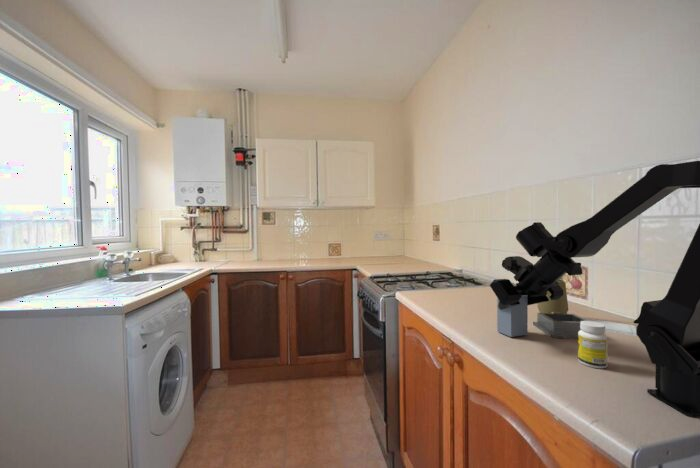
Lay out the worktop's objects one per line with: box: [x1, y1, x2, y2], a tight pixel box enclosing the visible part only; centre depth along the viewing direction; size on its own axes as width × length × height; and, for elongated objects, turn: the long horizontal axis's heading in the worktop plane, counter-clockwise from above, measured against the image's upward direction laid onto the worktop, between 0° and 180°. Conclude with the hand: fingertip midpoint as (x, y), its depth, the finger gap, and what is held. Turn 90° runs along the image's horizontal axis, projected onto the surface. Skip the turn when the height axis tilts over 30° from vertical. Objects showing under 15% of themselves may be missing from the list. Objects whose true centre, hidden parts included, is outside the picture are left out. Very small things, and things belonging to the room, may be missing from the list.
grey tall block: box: [496, 281, 529, 338], centre depth 78 cm, size 4×6×13 cm
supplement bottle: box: [577, 321, 609, 369], centre depth 61 cm, size 5×5×8 cm
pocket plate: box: [532, 312, 588, 340], centre depth 80 cm, size 10×11×4 cm
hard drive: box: [580, 316, 638, 337], centre depth 83 cm, size 2×8×12 cm
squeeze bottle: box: [536, 276, 569, 314], centre depth 91 cm, size 8×8×18 cm
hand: (507, 307), depth 79 cm, fingers closed on grey tall block, 5 cm apart
